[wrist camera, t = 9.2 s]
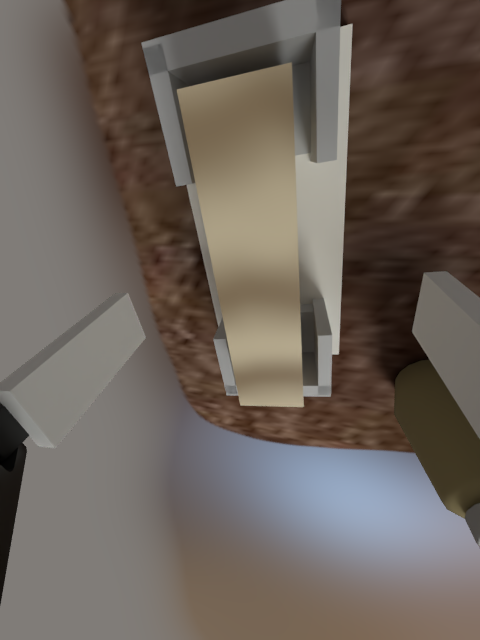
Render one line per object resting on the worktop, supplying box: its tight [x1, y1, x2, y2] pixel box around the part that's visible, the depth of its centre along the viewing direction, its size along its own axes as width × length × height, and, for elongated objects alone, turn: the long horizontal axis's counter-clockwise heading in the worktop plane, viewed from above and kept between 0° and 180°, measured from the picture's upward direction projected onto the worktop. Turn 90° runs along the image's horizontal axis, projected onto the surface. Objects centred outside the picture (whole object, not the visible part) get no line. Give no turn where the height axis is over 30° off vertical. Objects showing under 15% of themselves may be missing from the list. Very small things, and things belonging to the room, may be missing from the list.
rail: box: [177, 62, 304, 407], centre depth 18 cm, size 18×4×8 cm, turn 8°
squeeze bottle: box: [394, 360, 480, 547], centre depth 21 cm, size 8×8×18 cm
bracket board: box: [142, 0, 352, 397], centre depth 21 cm, size 24×12×7 cm, turn 9°
